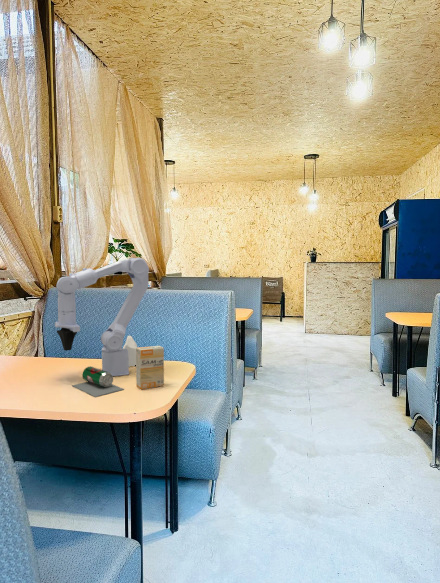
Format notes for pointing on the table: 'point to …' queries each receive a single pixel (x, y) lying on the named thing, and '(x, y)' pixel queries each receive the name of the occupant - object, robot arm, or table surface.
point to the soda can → (97, 376)
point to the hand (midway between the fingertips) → (67, 350)
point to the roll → (131, 350)
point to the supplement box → (149, 367)
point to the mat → (97, 389)
